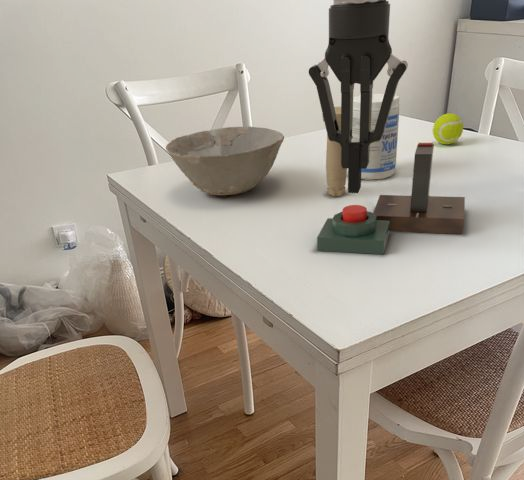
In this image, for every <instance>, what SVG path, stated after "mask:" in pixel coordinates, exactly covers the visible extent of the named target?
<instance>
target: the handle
mask: <svg viewBox="0 0 524 480" xmlns="http://www.w3.org/2000/svg"><path fill="white" fill-rule="evenodd" d="M334 108H335V113H336V117H337V122H338V126H339V131H341V106H334ZM321 115H322V121H323V122H324V117H323V113H321ZM326 135H327V134H326ZM325 152H326V154H325V177H326V185H327V188H326V190H327V194H328V195H329V196H331V197H341V196H343V195H344V194H345V193H346V184H347V183H346V182H347V176H348V168H342V166H341V145H340V144H339V143H338V142H335V141H330V140H329V139H328V135H327V136H326V151H325Z"/></svg>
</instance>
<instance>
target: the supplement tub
mask: <svg viewBox="0 0 524 480" xmlns="http://www.w3.org/2000/svg"><path fill="white" fill-rule="evenodd" d="M384 94H385V93H372V113H371V131H374V130H375V126H376V123H377V119H378V115H379V112H380V108H381V104H382V101H383V97H384ZM360 101H361V94H360V95H356V96H353V126H352V136H353V138H352V142H359V138H360ZM400 105H401V104H400V95H398V94H395V95H394V99H393V102H392V106H391V109H390V113H389V116H388V120H387V123H386V127H385V130H384V134H383V136H382V138H381V140H379V141H375V142H373V143H371V144H370V153H369V164H368V166H367V168H366V169H361V180H369V181H370V180H372V181H373V180H382V179H386V178H390V177H391V176H393V175H394V174H395V173H396V168H397V167H396V166H397V152H398V140H399V139H398V138H399V137H398V136H399V124H400V123H399V121H400Z"/></svg>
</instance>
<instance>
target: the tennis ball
mask: <svg viewBox="0 0 524 480" xmlns="http://www.w3.org/2000/svg"><path fill="white" fill-rule="evenodd" d="M463 132H464V122H463V121H462V118H461V116H459V115H457V114H455V113H452V112H451V113H450V112H449V113H444V114H442V115H440V116H439V117H438V118H437V119H436V120H435V122H434V124H433V127H432V135H433V137H434V139H435V141H436V142H438V143H439V144H441V145H451V144H453V143H455V142H457V141H458V140H459V139H460V138H461V137H462V134H463Z"/></svg>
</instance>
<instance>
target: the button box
mask: <svg viewBox="0 0 524 480" xmlns="http://www.w3.org/2000/svg"><path fill="white" fill-rule="evenodd" d="M390 233H391V231H390V221H386V220H377V216H376V215H375V214H373V211H372V212H371V211H368V210H367V219H366V221H364V222H358V223H348V222H345V221H343V210H342V211H340V212H338V213H336V214H334V215H333V217H331V218H330V217H328V218H327V219H326V221H325V222H324V224H323V226H322V228H321V229H320V231H319V234H318V235H317V237H316V250H317V252H334V253H335V252H336V253H353V254H373V255H384V254H385V250H386V246H387V242H388V240H389V237H390Z"/></svg>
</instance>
